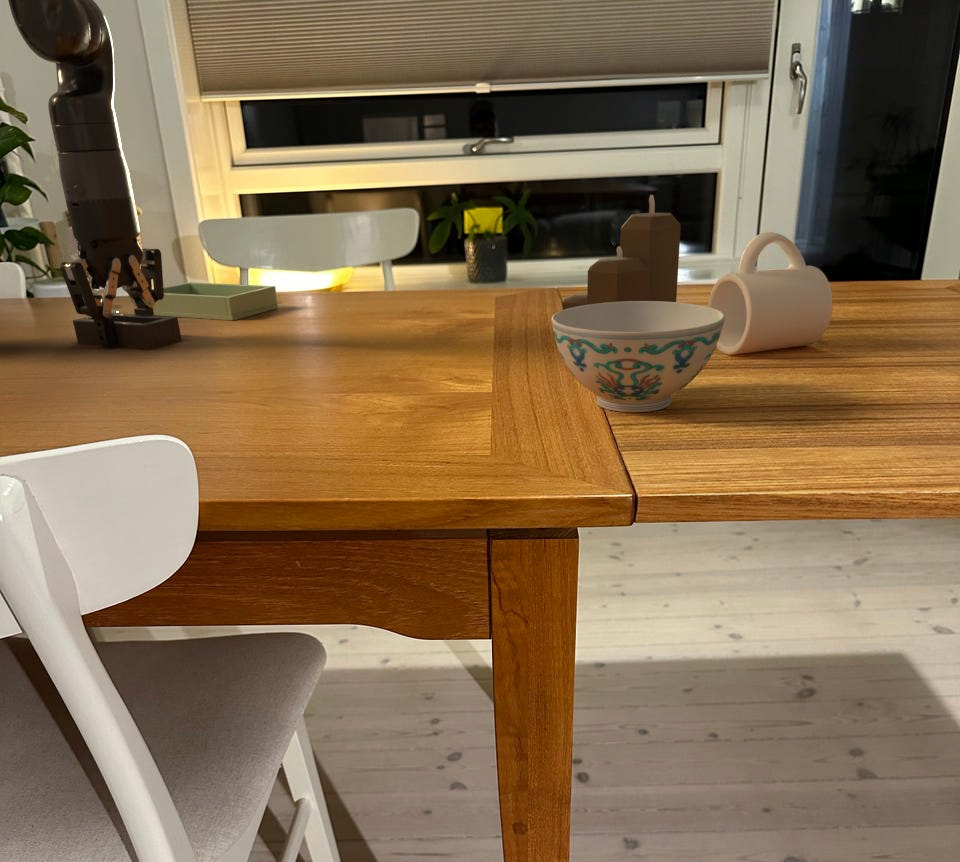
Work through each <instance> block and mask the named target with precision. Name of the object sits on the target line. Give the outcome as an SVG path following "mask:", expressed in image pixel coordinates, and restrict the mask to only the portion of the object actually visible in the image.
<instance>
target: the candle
mask: <svg viewBox="0 0 960 862" xmlns="http://www.w3.org/2000/svg"><path fill="white" fill-rule="evenodd" d="M648 203H649V208H648V209H649V210H648V212H644V213H632V214H631V215H630V216H629V218H627V220H626V221H625V222H624V223H623V224H622V226H621V228H620V235H619V237H620V238H619V239H620V240H619V246H617V247H616V249H615V251H616V256H615V257H605V258H600V259H598V260H596V261H595V262H594V263H593V264H592V265H590V266H589V268H588V270H587V290H586V291H587V292H583V293H573V294H570V295H567V296H565V297H564V299H563V300H562V306H561V307H562V308H561V309H562V310H565V309H569V308H573V307H577V306H583V305H590V304H598V303H608V302H625V301H663V302H677V294H678V279H679V278H678V277H679V261H680V247H681V246H680V244H681V243H680V242H681V230H682V229H681V223H680V222H679V221H678V220H677V219H676V218H675V216H674V215H673V214H672V213H671V212H656V211H655V210H656V209H655V207H656V202H655V198H654V195H653V194H650V195H649V198H648ZM562 310H561V311H562Z"/></svg>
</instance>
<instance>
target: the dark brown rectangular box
mask: <svg viewBox="0 0 960 862" xmlns="http://www.w3.org/2000/svg"><path fill="white" fill-rule="evenodd" d="M110 318H113V319H114V323H115V329H116V334H117V339H118V343H119V347H118V348H122V349H132V350H146V351H151V350H154V349H157V348H161V347H165V346H169V345H171V344H175V343H179V342H182V334H181V328H180V321H179V317H171V316H156V315H154V316H151V315H136V314H135V313H121V312H120V313H119V312H118V313H111V316H110ZM72 324H73V328H74V332H75V336H76V340H77V344H78V345H87V346H99V347H102V345H100V343H99V341H98V336H97V332H96V328H95V323H94V320H93V318H92V317H91V316H87V317H82V318H77V319H73V320H72Z"/></svg>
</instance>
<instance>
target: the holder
mask: <svg viewBox="0 0 960 862" xmlns="http://www.w3.org/2000/svg"><path fill="white" fill-rule="evenodd" d="M163 289H164V298H163V299H162V300H158V301H157V302H155V305H154V307H153V312H154V316H165V317H178V318H189V319H202V320H203V319H204V320H219V321H233V322H234V321H236V320H241V319H243V318H248V317H250V316H251V317H252V316H254V315H259V314H261V313H262V314H263V313H266V312H269V311H274V310H276V309H279V305H278V297H277V288H276V286H275V285H258V284H233V283H216V282H215V283H211V282H194V281H193V282H184V283H180V284H175V285H171V286H166V287H163Z"/></svg>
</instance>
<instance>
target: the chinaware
mask: <svg viewBox="0 0 960 862" xmlns="http://www.w3.org/2000/svg"><path fill="white" fill-rule="evenodd" d="M724 319H725V315H724V314H723V313H722V312H721V311H719V310H717V309H714V308H711V307H708V305H701V304H696V303H687V302H678V301H676V302H663V301H625V302H608V303H598V304H590V305H583V306H577V307H573V308H569V309H565V310H560V311H558V312H555V313H554V314H553V315H552V316H551V324H552V325H551V326H552V331H553V337H554V339H555V343H556V345H557V349H558V351H559V355H560V356H561V358H562V360H563V362H564V364H565V366H566V367H567V369H568V371H569V372H570V373H571V375H572V376H573V377H574V378H575V379H576V381H578V382H579V383H580V384H581V385H582V387H585V388H586V389H587V391H590V392H591V393H593V394H594V395H596V404H597V405H598V406H599V407H600V408H602V409H605V410H608V411H613V412H619V413H645V412H646V413H647V412H648V413H649V412H656V411H659V410H663V409H665V408H668V407H669V406H670V405H671V404H672V396H673V395H675V394H676V393H678V392H680V391H681V390H682V389H684V388H685V387H687V386H688V385H689V384H690V383H691V382H692V381H693V380H694V379H695V378H696V377H697V376H698V375H700V373H701V372H702V370H703V369H704V368H705V367H706V365H707V364H708V362H709V360H710V359H711V357H712V355H713V353H714V351H715V349H716V348H717V347H716V345H717V342H718V340H719V337H720V334H721V331H722V328H723V324H724Z"/></svg>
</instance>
